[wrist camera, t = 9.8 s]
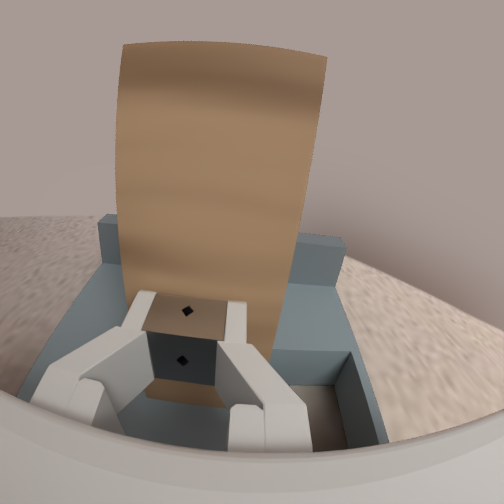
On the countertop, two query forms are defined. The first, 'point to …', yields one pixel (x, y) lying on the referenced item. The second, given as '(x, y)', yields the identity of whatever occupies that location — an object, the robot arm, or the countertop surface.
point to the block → (214, 177)
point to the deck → (282, 356)
